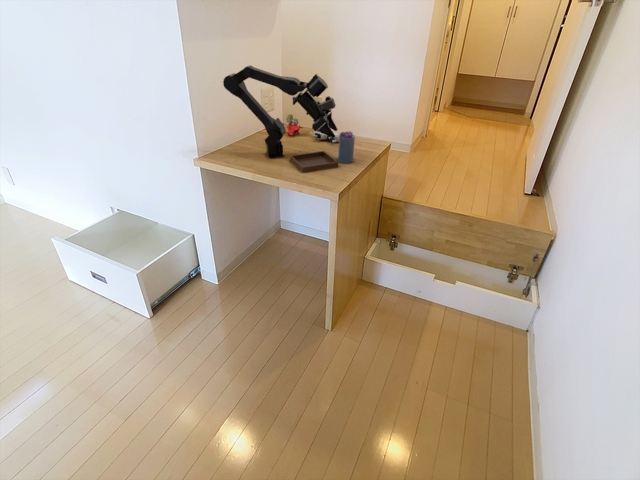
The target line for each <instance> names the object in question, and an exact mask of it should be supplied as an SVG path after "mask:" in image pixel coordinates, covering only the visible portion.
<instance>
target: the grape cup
mask: <svg viewBox="0 0 640 480" xmlns="http://www.w3.org/2000/svg"><path fill="white" fill-rule="evenodd" d="M353 133H354V132H352V131H351V130H350V131H342V132H340V133H339V134H340V136H339V142H338V157H337V161H338V163H340V164H341V163H342V164H352V163H353V162H354V154H355V144H356V143H355V142H356V135H354V134H353Z"/></svg>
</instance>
